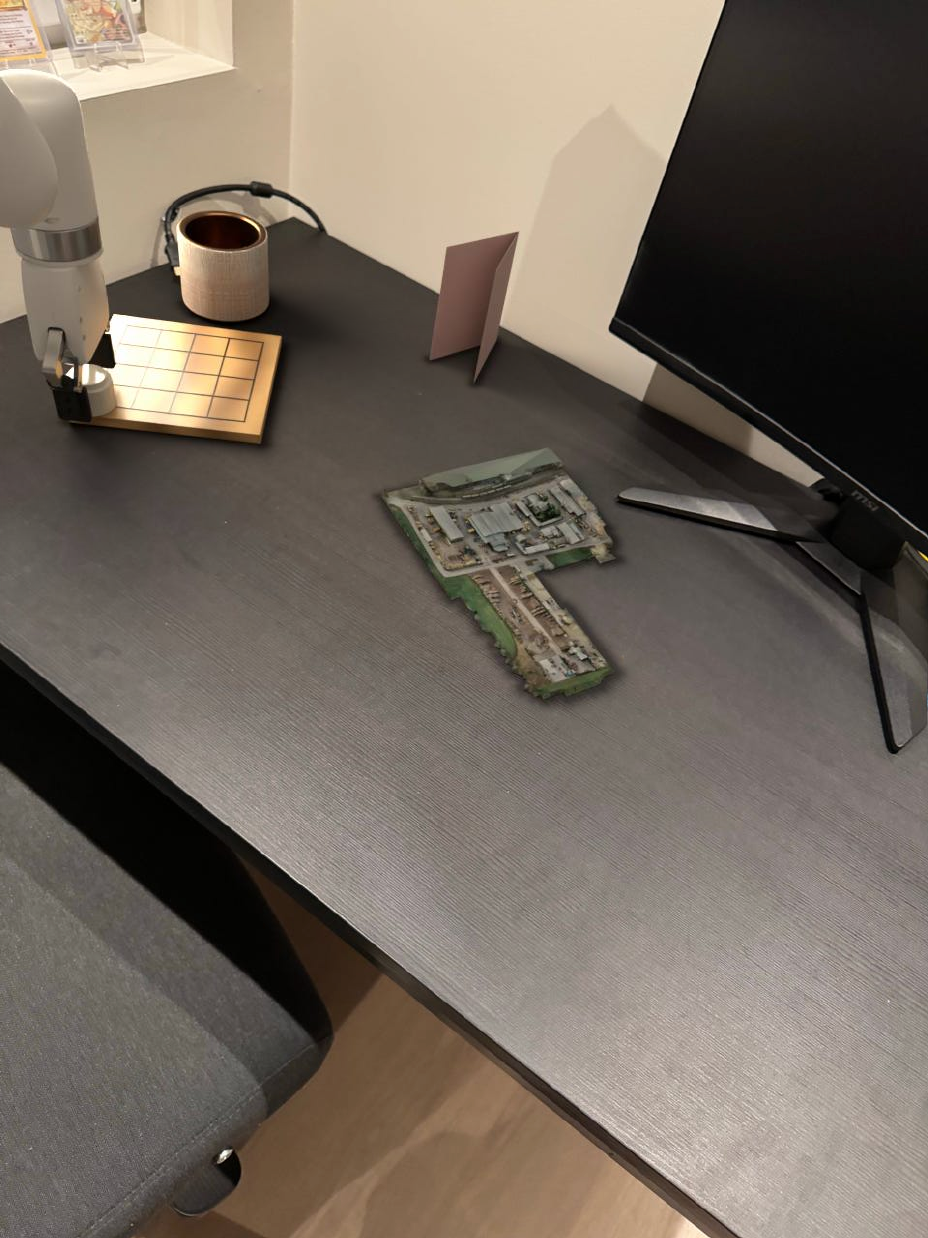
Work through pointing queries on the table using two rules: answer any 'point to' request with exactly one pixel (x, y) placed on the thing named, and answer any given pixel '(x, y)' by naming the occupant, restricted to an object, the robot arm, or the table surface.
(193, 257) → the planter
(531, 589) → the model
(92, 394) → the tan tin with lid
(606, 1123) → the table surface
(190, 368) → the board
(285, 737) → the table surface
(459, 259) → the greeting card
